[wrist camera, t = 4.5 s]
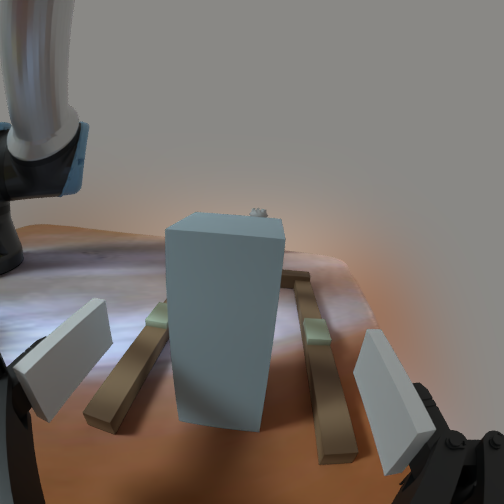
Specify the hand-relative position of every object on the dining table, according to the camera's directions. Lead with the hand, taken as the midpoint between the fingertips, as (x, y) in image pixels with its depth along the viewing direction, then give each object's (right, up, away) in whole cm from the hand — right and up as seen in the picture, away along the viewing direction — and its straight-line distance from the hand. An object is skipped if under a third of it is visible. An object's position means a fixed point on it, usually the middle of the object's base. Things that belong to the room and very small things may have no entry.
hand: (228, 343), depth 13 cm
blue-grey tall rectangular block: (-1, -6, +4) cm, 7 cm away
